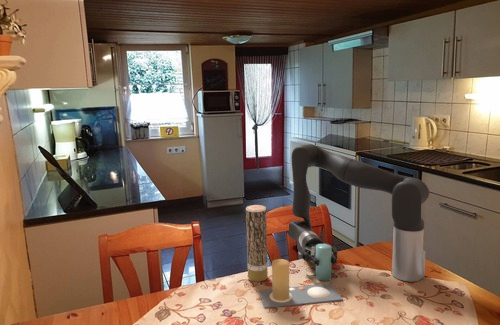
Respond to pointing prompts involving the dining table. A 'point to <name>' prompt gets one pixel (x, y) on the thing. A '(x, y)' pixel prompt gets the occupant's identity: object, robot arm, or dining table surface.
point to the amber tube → (280, 279)
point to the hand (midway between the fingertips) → (326, 262)
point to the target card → (302, 295)
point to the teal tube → (323, 262)
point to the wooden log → (256, 242)
